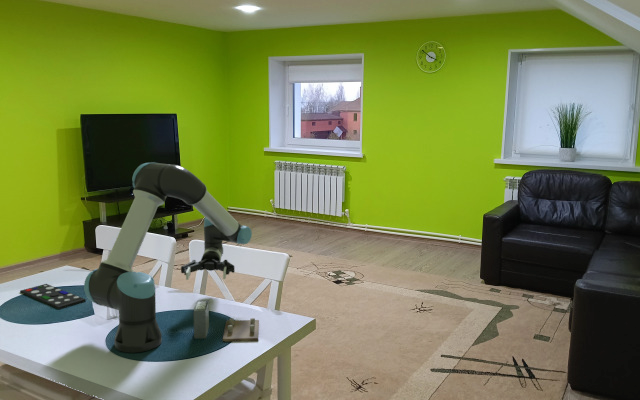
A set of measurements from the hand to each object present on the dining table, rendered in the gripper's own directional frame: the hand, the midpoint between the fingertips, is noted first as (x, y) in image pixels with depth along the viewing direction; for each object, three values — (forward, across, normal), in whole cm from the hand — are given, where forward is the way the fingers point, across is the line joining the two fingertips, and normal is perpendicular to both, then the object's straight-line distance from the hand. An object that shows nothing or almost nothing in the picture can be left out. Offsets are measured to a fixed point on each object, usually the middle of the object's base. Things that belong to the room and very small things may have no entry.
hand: (205, 275), depth 205 cm
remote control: (-26, +65, -17) cm, 72 cm away
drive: (+13, 0, -17) cm, 21 cm away
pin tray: (+13, -14, -17) cm, 25 cm away
